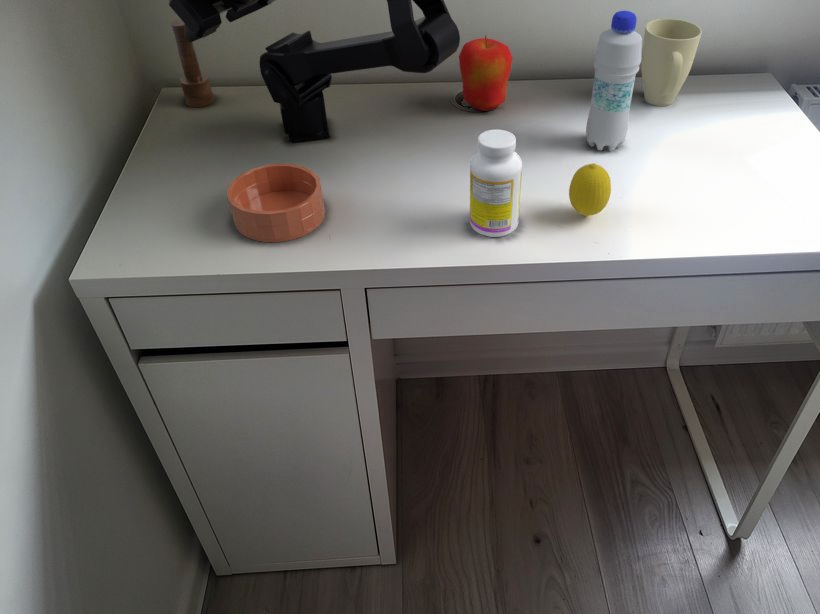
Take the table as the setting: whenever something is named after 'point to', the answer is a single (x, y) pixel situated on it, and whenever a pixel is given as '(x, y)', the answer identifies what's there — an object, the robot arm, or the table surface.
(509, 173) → the supplement bottle
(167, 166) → the table surface
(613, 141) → the bottle
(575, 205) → the lemon
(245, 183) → the bowl
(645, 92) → the mug
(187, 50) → the pestle
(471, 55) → the apple
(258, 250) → the table surface
